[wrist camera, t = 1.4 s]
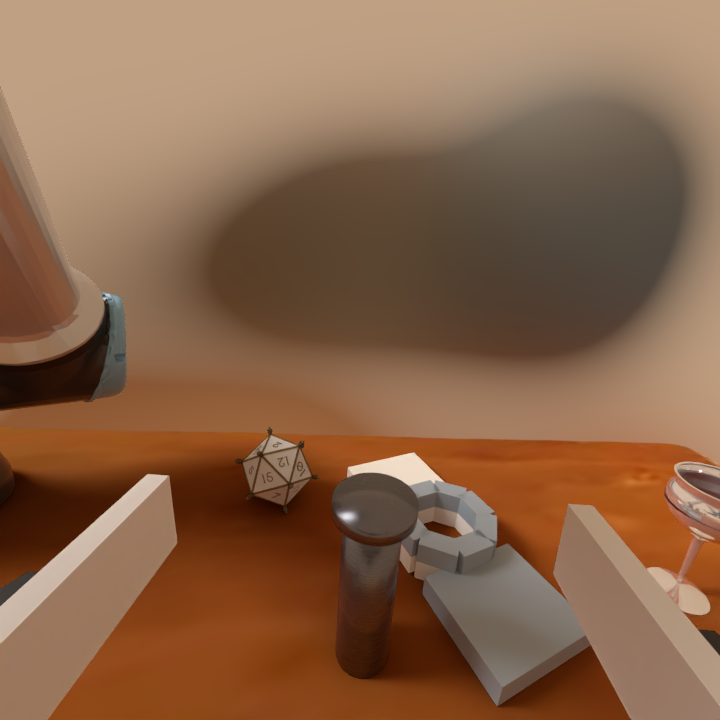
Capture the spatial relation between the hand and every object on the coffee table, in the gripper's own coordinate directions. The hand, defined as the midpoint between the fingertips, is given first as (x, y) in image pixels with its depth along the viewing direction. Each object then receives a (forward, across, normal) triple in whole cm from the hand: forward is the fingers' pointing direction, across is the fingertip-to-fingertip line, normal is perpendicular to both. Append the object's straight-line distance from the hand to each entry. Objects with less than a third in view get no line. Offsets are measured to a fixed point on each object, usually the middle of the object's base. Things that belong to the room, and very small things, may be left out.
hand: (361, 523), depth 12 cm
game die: (+26, -11, -19) cm, 34 cm away
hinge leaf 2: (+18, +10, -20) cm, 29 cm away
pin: (+11, 0, -20) cm, 23 cm away
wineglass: (+19, +30, -21) cm, 41 cm away
